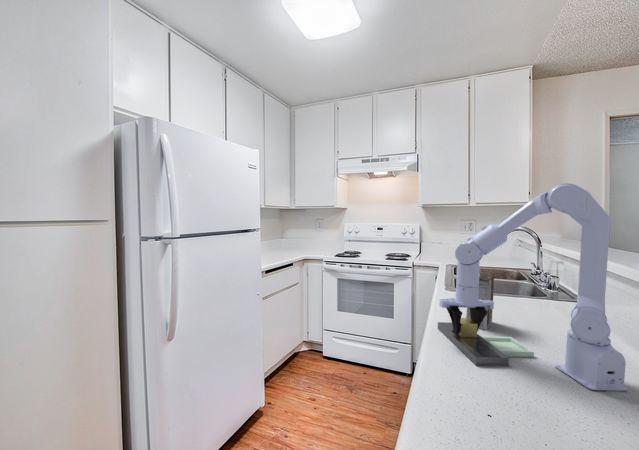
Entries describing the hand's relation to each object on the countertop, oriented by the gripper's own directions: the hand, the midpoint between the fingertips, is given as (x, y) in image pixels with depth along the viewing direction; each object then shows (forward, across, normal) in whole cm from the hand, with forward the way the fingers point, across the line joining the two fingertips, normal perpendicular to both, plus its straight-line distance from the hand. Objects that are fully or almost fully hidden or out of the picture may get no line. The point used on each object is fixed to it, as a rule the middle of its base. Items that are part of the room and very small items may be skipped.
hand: (464, 332), depth 83 cm
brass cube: (+3, 0, 0) cm, 3 cm away
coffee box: (+3, -12, -14) cm, 19 cm away
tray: (+3, -9, +4) cm, 10 cm away
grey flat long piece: (+3, 0, +2) cm, 3 cm away
